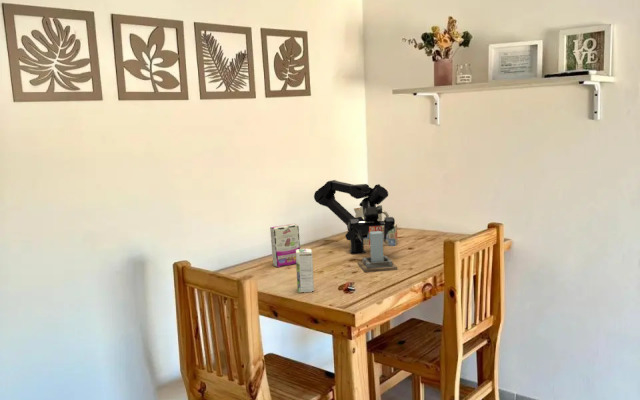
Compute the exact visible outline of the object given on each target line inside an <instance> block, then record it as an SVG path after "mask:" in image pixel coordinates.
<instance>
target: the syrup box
mask: <svg viewBox="0 0 640 400" xmlns="http://www.w3.org/2000/svg"><path fill="white" fill-rule="evenodd" d="M313 261H314V259H313V250H312V248H300V249H297V250H296V264H295V268H296V270H295V271H296V285H297V286H296V287H297V293H298V294H299V292H304V293H313V292H312V291H314V292H315V288H314V287H315V285H314V263H313Z"/></svg>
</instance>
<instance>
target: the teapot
mask: <svg viewBox="0 0 640 400" xmlns="http://www.w3.org/2000/svg"><path fill="white" fill-rule="evenodd" d="M353 211H354V213H355V215H354V217H364V215H363V207H362V206H359V207H354V208H353ZM383 215H385V217H390V215H389V213H388V212H387V211H385V210H383V209H382V214H378V216H379V219H378V221H383Z"/></svg>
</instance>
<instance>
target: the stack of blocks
mask: <svg viewBox="0 0 640 400" xmlns="http://www.w3.org/2000/svg"><path fill="white" fill-rule="evenodd" d="M354 217H355V216H354ZM355 218H357V217H355ZM362 218H363V219H364V217H362ZM374 231H381V232H382V233H383V246H392V247H393V246H396V245H397V244H398V242H399V241H398V223H395V224H394V229H391V231H388V233H387V236H386V241H384V226H371V227H369V232H368V236H367V238H363V241H364V246H370V232H374Z"/></svg>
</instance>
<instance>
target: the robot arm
mask: <svg viewBox="0 0 640 400" xmlns="http://www.w3.org/2000/svg"><path fill="white" fill-rule="evenodd" d="M336 192H339V193H344V194H347V195H349V196H350V197H352V198H354V199H355V200H359V199H362V200H361V202H359V204H358V205H359V207H361V206H362V207H363V215H364V219H363V218H362V217H357V218H355V215H353V214H352V213H350V211H348V210H347V208H345V207H344V206H343V205H342V204H341V203H339V202H338V201H337V200H336V197H335V195H336ZM388 196H389V192H388V190H387V189H386V188H385V187H384V186H382V185H381V184H379V183H378V184H375V185H374V187H370V185H369V184H368V183H362V184H352V183H347V182H343V181H339V180H336V179H334V180H333V179H332V180H327V181H326V182H325V184H324V185H323V186H321V187H319V188H318V189H317V190H315V192H314V195H313V198H314V201H315V203H318V204H319V205H320V206H322V207H323V206H324V207H327V208H328V209H329V210H330V211H331V212H332V213H333V214H334V215H335V216H336V217H338V219H340V221H341V222H342V223H344V224H345V225H346V228H347V233H345V235H344V236H345V239H346V241H350V249H349V251H348V252H349V253H350V254H351V255H362V254H366V253H367V251H366V250H365V245H364V241H363V238H367V236H368V232H369V227H371V226H384V241H386V236H387V233H388V231H391V229H394V224H396V223H395V222H396V221H395V218H394V217H393V216H389V217H386V216H384V219H383V220H382V221H378V219H379V216H378V214H382V215H383V213H382V210H383V205H381V203H383V201H384V200H386V198H388Z"/></svg>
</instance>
